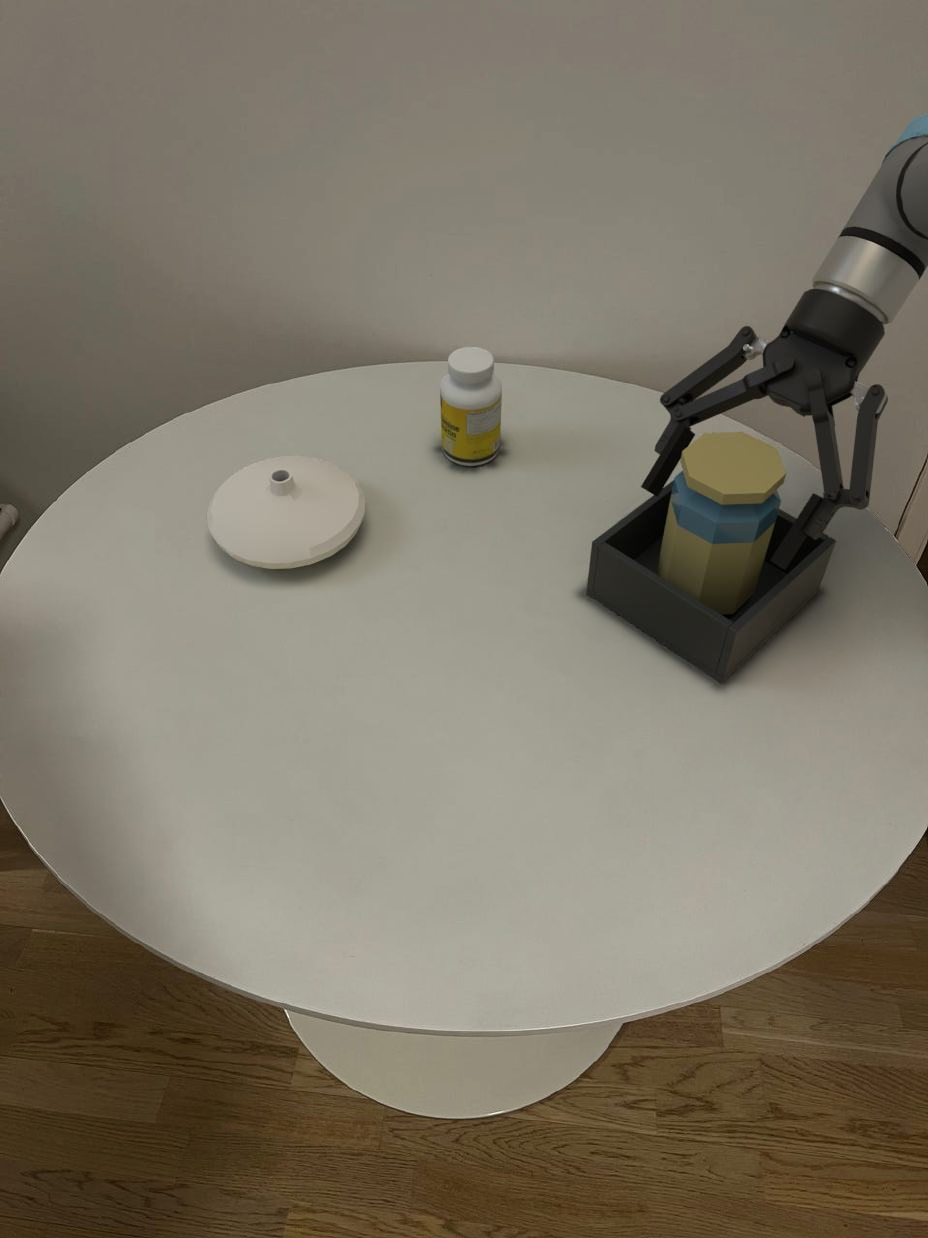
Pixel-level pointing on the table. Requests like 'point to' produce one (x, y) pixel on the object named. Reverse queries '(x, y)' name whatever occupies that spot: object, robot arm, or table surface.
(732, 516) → the jar
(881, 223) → the robot arm
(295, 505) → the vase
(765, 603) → the bin
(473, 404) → the pill bottle
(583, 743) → the table surface
